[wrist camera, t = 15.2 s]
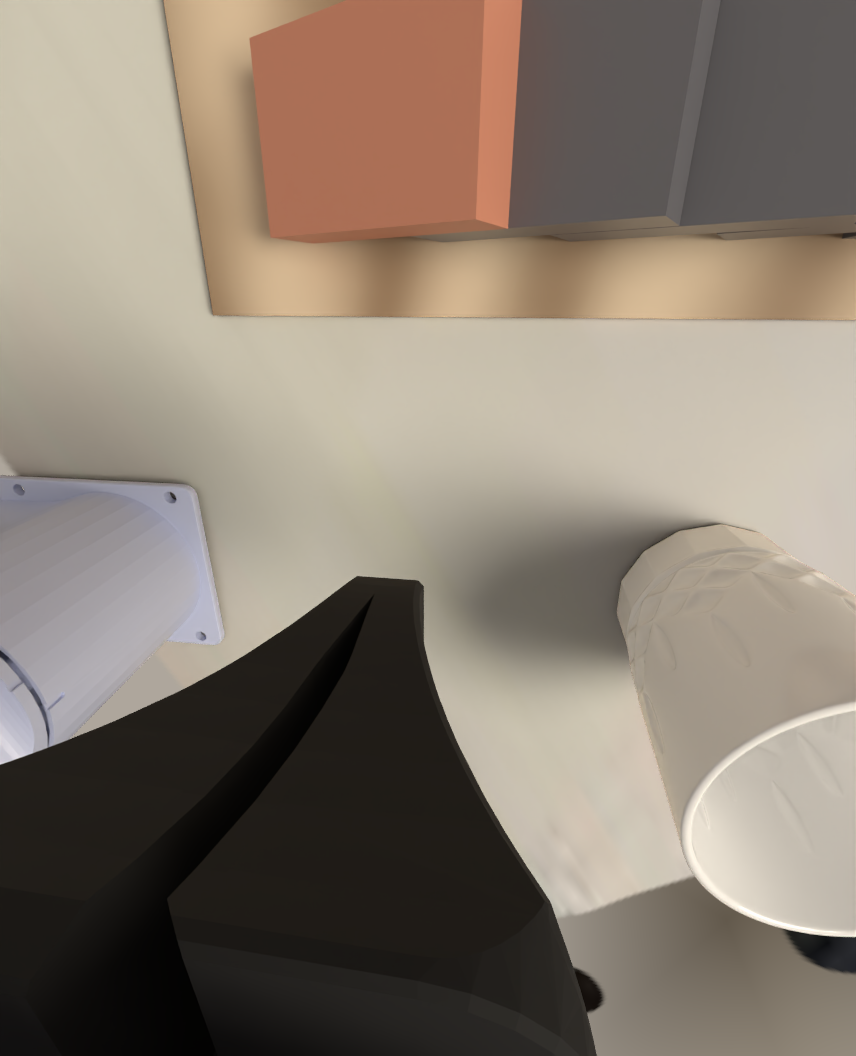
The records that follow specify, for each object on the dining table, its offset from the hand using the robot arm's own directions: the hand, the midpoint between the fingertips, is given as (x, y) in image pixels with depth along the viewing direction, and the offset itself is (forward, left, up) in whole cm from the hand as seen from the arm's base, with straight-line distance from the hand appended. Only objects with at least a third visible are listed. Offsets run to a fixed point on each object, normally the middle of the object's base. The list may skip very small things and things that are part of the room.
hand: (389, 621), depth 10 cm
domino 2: (+4, +10, -9) cm, 14 cm away
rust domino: (-5, +10, -9) cm, 14 cm away
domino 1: (0, +10, -9) cm, 14 cm away
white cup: (+11, -5, -11) cm, 16 cm away
